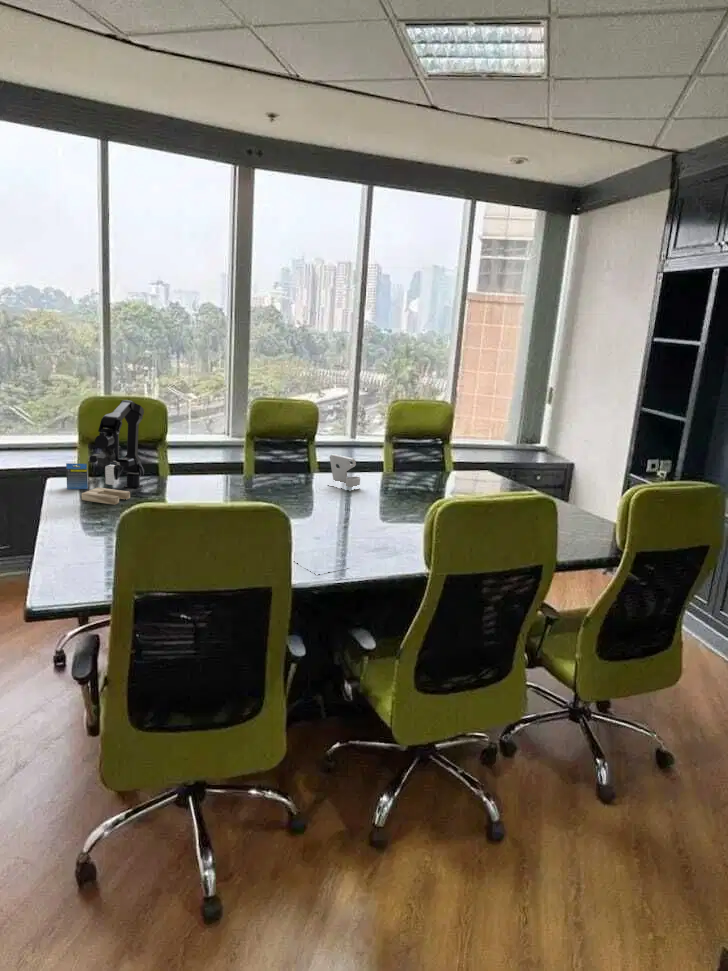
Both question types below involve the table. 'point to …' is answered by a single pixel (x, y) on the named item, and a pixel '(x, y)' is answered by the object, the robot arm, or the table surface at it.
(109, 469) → the grey peg
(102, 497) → the notched board
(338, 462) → the phone holder
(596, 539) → the table surface
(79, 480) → the label tape cartridge
